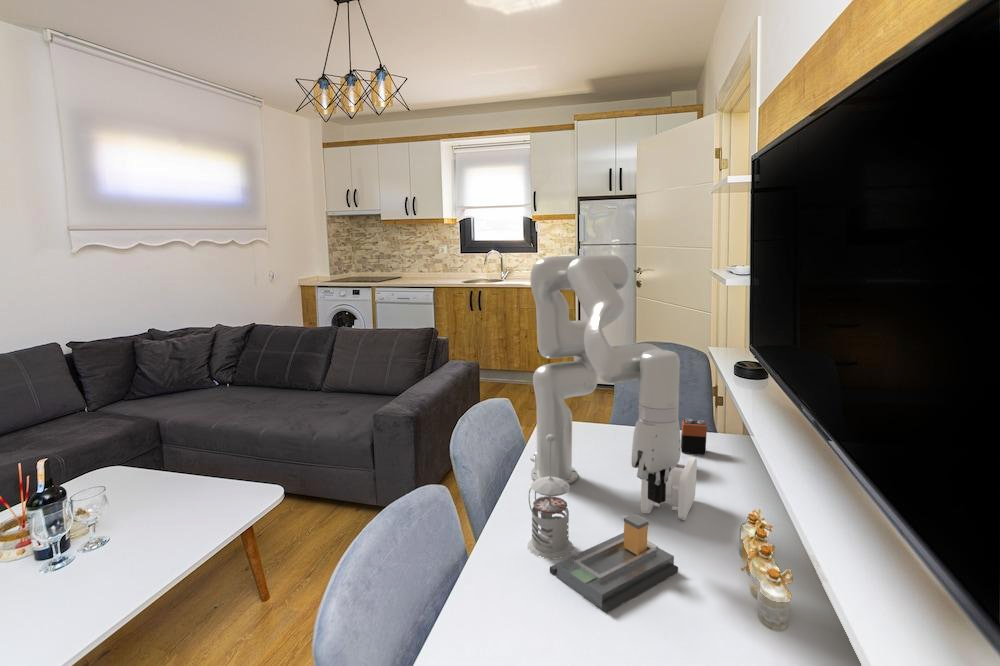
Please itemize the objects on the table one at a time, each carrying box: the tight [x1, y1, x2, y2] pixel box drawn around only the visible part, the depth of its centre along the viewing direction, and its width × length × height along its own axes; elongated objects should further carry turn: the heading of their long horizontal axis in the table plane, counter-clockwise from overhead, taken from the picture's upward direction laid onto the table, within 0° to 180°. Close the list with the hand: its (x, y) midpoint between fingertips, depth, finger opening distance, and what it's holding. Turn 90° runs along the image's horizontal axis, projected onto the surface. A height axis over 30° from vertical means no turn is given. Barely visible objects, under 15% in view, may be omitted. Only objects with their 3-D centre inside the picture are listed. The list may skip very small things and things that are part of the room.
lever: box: [623, 513, 649, 555], centre depth 114 cm, size 4×3×6 cm
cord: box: [549, 563, 557, 576], centre depth 118 cm, size 1×20×1 cm, turn 126°
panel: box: [556, 532, 675, 611], centre depth 112 cm, size 12×20×4 cm, turn 126°
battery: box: [680, 417, 708, 455], centre depth 172 cm, size 4×7×10 cm, turn 77°
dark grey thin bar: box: [601, 564, 679, 614], centre depth 107 cm, size 1×20×1 cm, turn 126°
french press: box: [527, 434, 574, 560], centre depth 121 cm, size 10×12×25 cm
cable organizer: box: [640, 456, 698, 521], centre depth 137 cm, size 15×11×12 cm
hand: (656, 500), depth 116 cm, fingers closed
